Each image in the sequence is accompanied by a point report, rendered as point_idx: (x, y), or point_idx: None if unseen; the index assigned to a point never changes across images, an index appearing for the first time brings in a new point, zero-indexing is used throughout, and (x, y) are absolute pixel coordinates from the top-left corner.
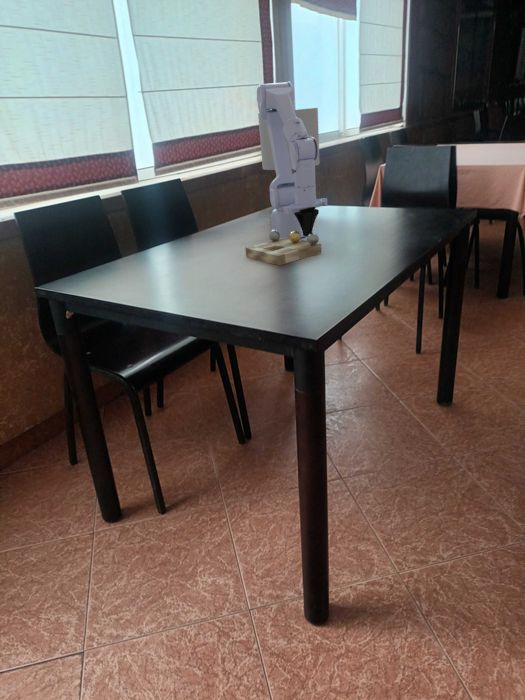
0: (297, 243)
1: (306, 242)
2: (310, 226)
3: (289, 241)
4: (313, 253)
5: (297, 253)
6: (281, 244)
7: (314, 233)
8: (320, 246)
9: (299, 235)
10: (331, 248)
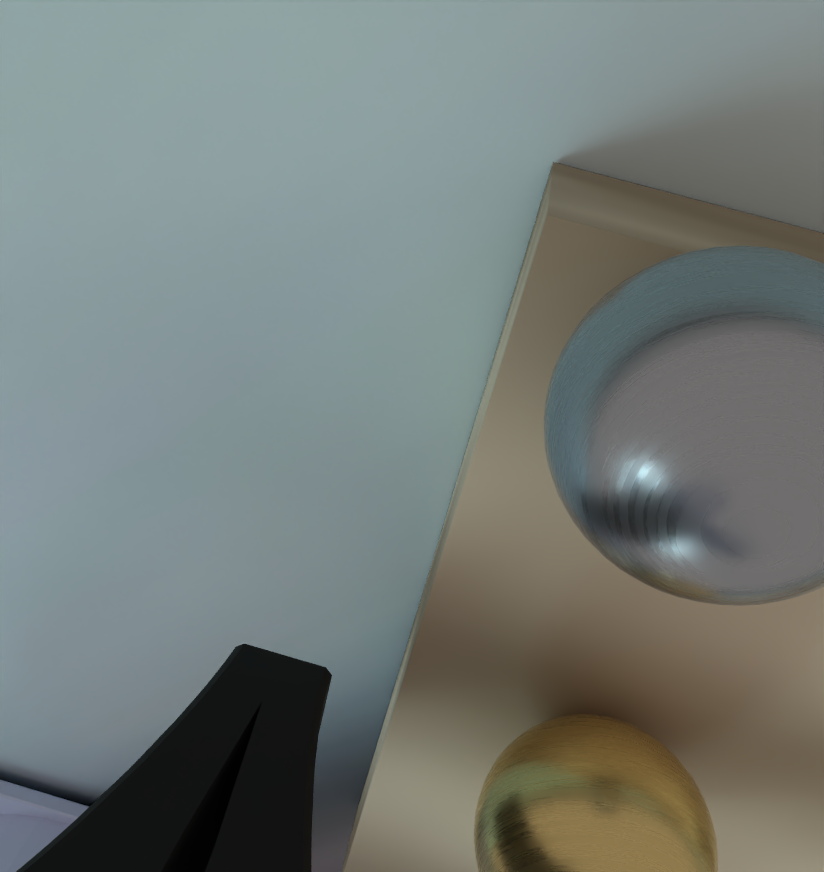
0: (657, 680)
1: (537, 571)
2: (195, 824)
3: None
4: (785, 228)
5: None
6: (790, 859)
7: (753, 469)
8: (573, 202)
9: (584, 794)
10: (187, 154)
